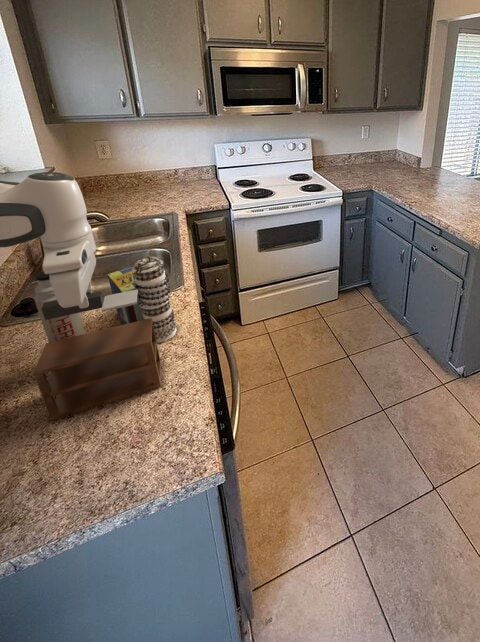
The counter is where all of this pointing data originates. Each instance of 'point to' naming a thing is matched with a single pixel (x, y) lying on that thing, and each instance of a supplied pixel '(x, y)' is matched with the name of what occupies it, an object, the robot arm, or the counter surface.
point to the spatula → (91, 304)
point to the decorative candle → (155, 296)
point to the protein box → (124, 283)
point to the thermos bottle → (60, 325)
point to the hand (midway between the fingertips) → (86, 301)
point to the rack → (98, 368)
